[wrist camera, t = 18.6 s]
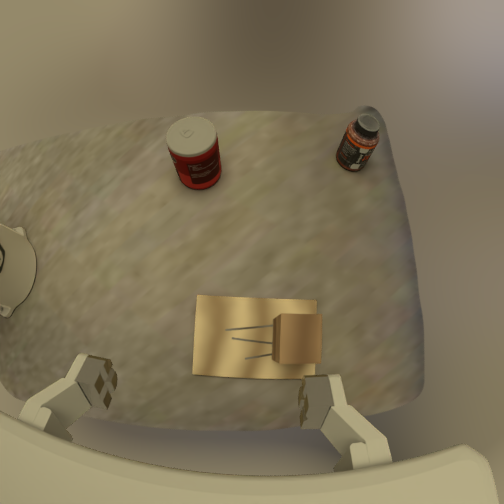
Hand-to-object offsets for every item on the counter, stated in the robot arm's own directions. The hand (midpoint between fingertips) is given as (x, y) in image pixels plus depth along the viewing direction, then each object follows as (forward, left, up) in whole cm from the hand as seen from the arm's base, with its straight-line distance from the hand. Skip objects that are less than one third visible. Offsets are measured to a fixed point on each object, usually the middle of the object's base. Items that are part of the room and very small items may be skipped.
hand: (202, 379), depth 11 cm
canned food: (-8, +30, -34) cm, 46 cm away
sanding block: (+8, +2, -32) cm, 33 cm away
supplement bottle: (+20, +35, -34) cm, 53 cm away
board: (+3, +2, -33) cm, 34 cm away
